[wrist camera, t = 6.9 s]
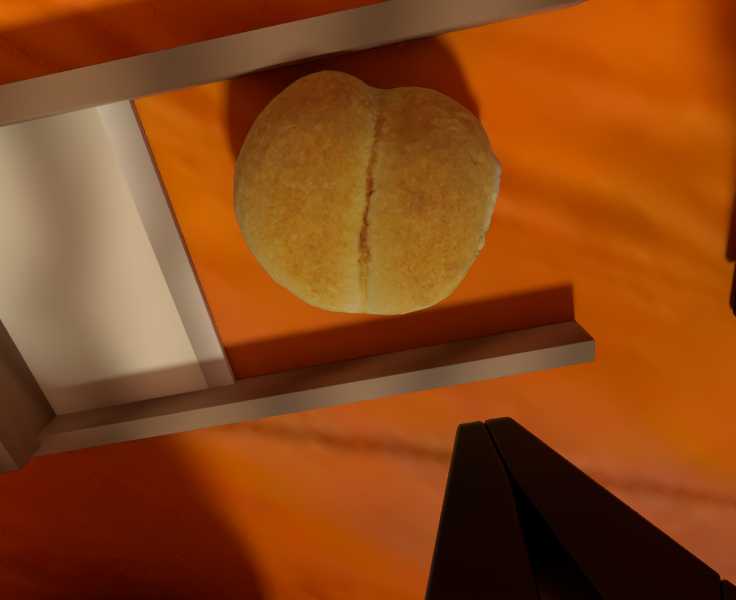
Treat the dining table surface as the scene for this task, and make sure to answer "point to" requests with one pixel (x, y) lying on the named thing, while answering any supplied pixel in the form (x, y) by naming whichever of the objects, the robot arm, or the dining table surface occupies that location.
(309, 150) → the bread roll
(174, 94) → the dining table surface
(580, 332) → the brown open frame
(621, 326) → the dining table surface
